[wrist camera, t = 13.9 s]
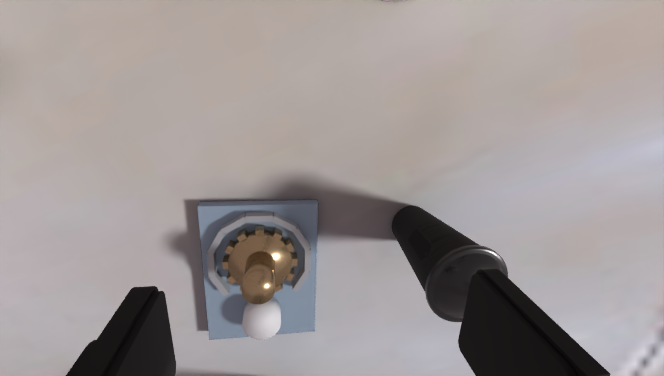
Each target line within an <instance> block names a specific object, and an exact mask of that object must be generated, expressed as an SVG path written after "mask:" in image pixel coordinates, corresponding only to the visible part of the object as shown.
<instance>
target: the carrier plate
mask: <svg viewBox="0 0 664 376" xmlns="http://www.w3.org/2000/svg"><path fill="white" fill-rule="evenodd" d="M197 208H198V219H199V230H200V241H201V253H202V264H203V275H204V286H205V297H206V309H207V320H208V331H209V340H214V339H226V338H238V337H251V338H253V339H258V340H262V339H267V338H270V337H272V336H274V335H275V334H286V333H299V332H311V331H315V297H316V260H317V223H318V203H317V200H269V201H213V202H200V203H199V205H198V206H197ZM256 225H264V230H268V231H272V232H273V230H274V228H275V227H276V228H278V229H280V230H282V237H283V238H284V239H285V240H286V239H288V238H291V240H292V241H293V243H294V250H292V251H291V253H294V252H297V266H292V268H294V277H293V278H292V280H291V281H289V280H285V281H284V282H283V289H281V290H279V291H277V292H276V291H275V293H274V296H273V297H272V299H271V300H269V301H268V302H266V303H264V304H252V303H249V302H247V301H246V300H245V299H244V297H243V296H242V292H241V291H240V285H239V284H238V283H236V282H235V283H233V284H230V283H229V282H228V280H227V275H228V272H229V269H224V270H223V266H222V261H223V258H224V256H226V255H230V254H227V253H225V249H226V246H227V244H228V243H229V241H230V240H233V241H235V242H236V241H237V240H238V239H237V234H238V232H239V231H241V230H242V229H244V228H245V229H246V230H247V231H248V232H251V231H255V229H256Z"/></svg>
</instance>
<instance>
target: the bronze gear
mask: <svg viewBox="0 0 664 376" xmlns="http://www.w3.org/2000/svg"><path fill="white" fill-rule="evenodd" d="M237 239H238V240H237V241H236V242H235V241H233V240H230V241H229V243H228V244H227V246H226V249H225V253H227V254H230V255H226V256H224V258H223V261H222V266H223V270H224V269H229V272H228V275H227V280H228V282H229V283H230V284H233V283H235V282H236V283H238V284H239V285H240V291H241V292H242V296H243V297H244V299H245V300H246V301H247V302H249V303H252V304H264V303H266V302H268V301H269V300H271V299H272V297H273V296H274V293H275V291H276V292H277V291H279V290H281V289H283V282H284V281H285V280H289V281H291V280H292V278H293V277H294V268H292V266H297V252H294V253H291V251H292V250H294V243H293V241H292V240H291V238H288V239H286V240H285V239H284V238H283V237H282V230H280V229H278V228H276V227H275V228H274V230H273V232H272V231H268V230H264V225H256V229H255V231H251V232H248V231H247V230H246V229H245V228H244V229H242V230H241V231H239V232H238V234H237Z"/></svg>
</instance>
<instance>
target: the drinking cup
mask: <svg viewBox="0 0 664 376" xmlns="http://www.w3.org/2000/svg"><path fill="white" fill-rule="evenodd" d="M392 230H393V233H394V235H395V237H396V239H397V241H398V242H399V244H400V246H401V248H402V250H403V252H404V254H405V255H406V257H407V259H408V261H409V263H410V265H411V267H412V269H413V270H414V272H415V274H416V276H417V278H418V280H419V282H420V283H421V285H422V287H423V289H424V291H425V293H426V299H427V302H428V304H429V306H430V308H431V309H432V310H433V312H434V313H435V314H436V315H438V316H439V317H441V318H442V319H445V320H447V321H451V322H462V320H463V315H464V310H465V306H466V301H467V296H468V291H469V286H470V282H471V278H472V276H473V275H474V274H476V272H477V271H478V270H480V269H498V270H500V271H501V272H502V273H503V274H504V275H505V276H506V277H507V278H508V272H507V267H506V264H505V262H504V260H503V259H502V258H501V256H500V255H499V254H497V253H496V252H495V251H493V250H492V249H490V248H488V247H484V246H480V245H479V244H477V243H475V242H474V241H472V240H471V239H469V238H467V237H466V236H464V235H463V234H461V233H459V232H458V231H456V230H455V229H453V228H452V227H450V226H448V225H447V224H445V223H444V222H442V221H440V220H439V219H437V218H436V217H434V216H433V215H431V214H429V213H428V212H426V211H425V210H423V209H421V208H420V207H416V206H409V207H405V208H403V209H402V210H400V211H399V212H398V213H397V214H396V215H395V217H394V219H393V222H392Z"/></svg>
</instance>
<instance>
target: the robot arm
mask: <svg viewBox="0 0 664 376" xmlns="http://www.w3.org/2000/svg"><path fill="white" fill-rule="evenodd" d="M383 1H390V2H399V1H406V0H383ZM458 343H459V348H460V351H461V353H462V354H463V356H464V357H465V359H466V361H467V362H468V364H469V365H470V367H471V369H472V370H473V372H474V373H475V375H476V376H610V373H609V372H608V371H607V370H605V369H604V368H603V367H602V366H601V365H600V364H599V363H598V362H597V361H596V360H595V359H594V358H593V357H592V356H591V355H589V354H588V353H587V352H586V351H585V350H584V349H583V348H582V347H581V346H580V345H579V344H578V343H577V342H576V341H575V340H573V339H572V338H571V337H570V336H569V335H568V334H567V333H566V332H565V331H564V330H563V329H562V328H561V327H560V326H559V325H558V324H556V323H555V322H554V321H553V320H552V319H551V318H550V317H549V316H548V315H547V314H546V313H545V312H544V311H543V310H542V309H540V308H539V307H538V306H537V305H536V304H535V303H534V302H533V301H532V300H531V299H530V298H529V297H528V296H527V295H526V294H524V293H523V292H522V291H521V290H520V289H519V288H518V287H517V286H516V285H515V284H514V283H513V282H512V281H511V280H510V279H508V278H507V277H506V276H505V275H504V274H503V273H502V272H501V271H500V270H498V269H480V270H478V271H477V272H476V274H474V275H473V276H472V278H471V282H470V286H469V291H468V296H467V301H466V306H465V310H464V315H463V320H462V325H461V329H460V334H459V339H458ZM175 372H176V361H175V355H174V348H173V342H172V336H171V330H170V323H169V317H168V311H167V305H166V298H165V294H164V292H163V291H158V289H157V287H155V286H150V287H134V288H132V289H131V290H130V292H129V293H128V295H127V296H126V297H125V299H124V300H123V302H122V303H121V305H120V306H119V308H118V309H117V311H116V312H115V314H114V315H113V317H112V318H111V320H110V321H109V323H108V324H107V325H106V327H105V328H104V330H103V331H102V333H101V334H100V336H99V337H98V339H97V340H94V341H92V342H90V343H89V344H88V345H87V347H86V348H85V349H84V351H83V352H82V353H81V355H80V356H79V358H78V359H77V361H76V362H75V363H74V365H73V366H72V368H71V369H70V371H69V372H68V373H67V375H66V376H175Z"/></svg>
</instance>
